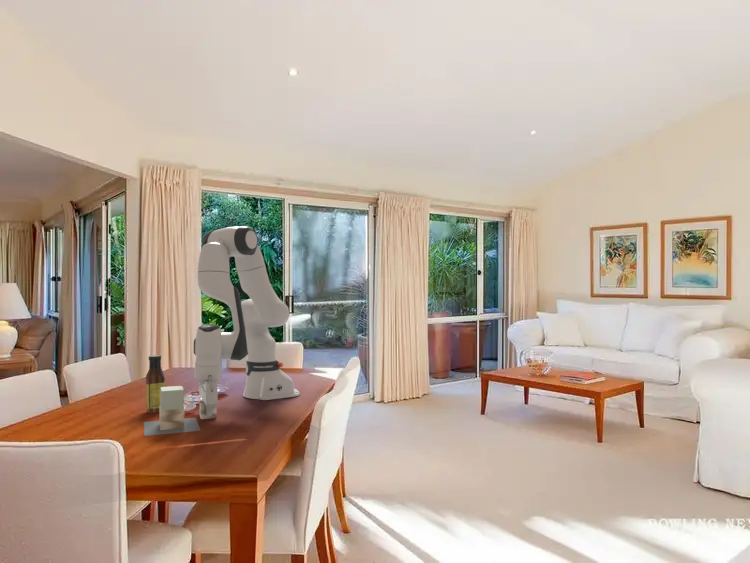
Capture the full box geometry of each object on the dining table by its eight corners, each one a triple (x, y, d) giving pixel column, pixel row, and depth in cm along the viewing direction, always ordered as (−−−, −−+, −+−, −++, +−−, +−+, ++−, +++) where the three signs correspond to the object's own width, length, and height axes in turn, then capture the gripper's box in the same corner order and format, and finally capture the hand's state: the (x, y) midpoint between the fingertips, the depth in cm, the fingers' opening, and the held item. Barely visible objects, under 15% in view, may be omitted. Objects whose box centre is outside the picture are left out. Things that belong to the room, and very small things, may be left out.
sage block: (181, 404, 175) (182, 385, 175) (183, 408, 169) (183, 389, 169) (160, 405, 172) (160, 387, 172) (161, 410, 166) (161, 391, 166)
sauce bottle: (169, 410, 192) (169, 355, 192) (156, 414, 186) (157, 357, 186) (154, 408, 194) (154, 353, 194) (141, 413, 188) (142, 356, 188)
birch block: (182, 422, 175) (182, 403, 175) (184, 428, 169) (184, 408, 169) (159, 424, 172) (159, 405, 172) (160, 430, 166) (160, 410, 166)
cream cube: (214, 415, 186) (214, 401, 186) (216, 419, 182) (216, 404, 182) (199, 417, 184) (199, 402, 184) (200, 420, 180) (201, 405, 179)
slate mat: (195, 419, 181) (195, 417, 181) (200, 432, 167) (200, 430, 167) (143, 423, 175) (143, 422, 175) (144, 437, 160) (144, 435, 160)
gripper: (222, 377, 174) (221, 420, 175) (214, 367, 193) (213, 405, 193) (202, 379, 172) (201, 422, 172) (195, 368, 191) (195, 407, 191)
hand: (207, 413), depth 183 cm, fingers closed on cream cube, 5 cm apart
